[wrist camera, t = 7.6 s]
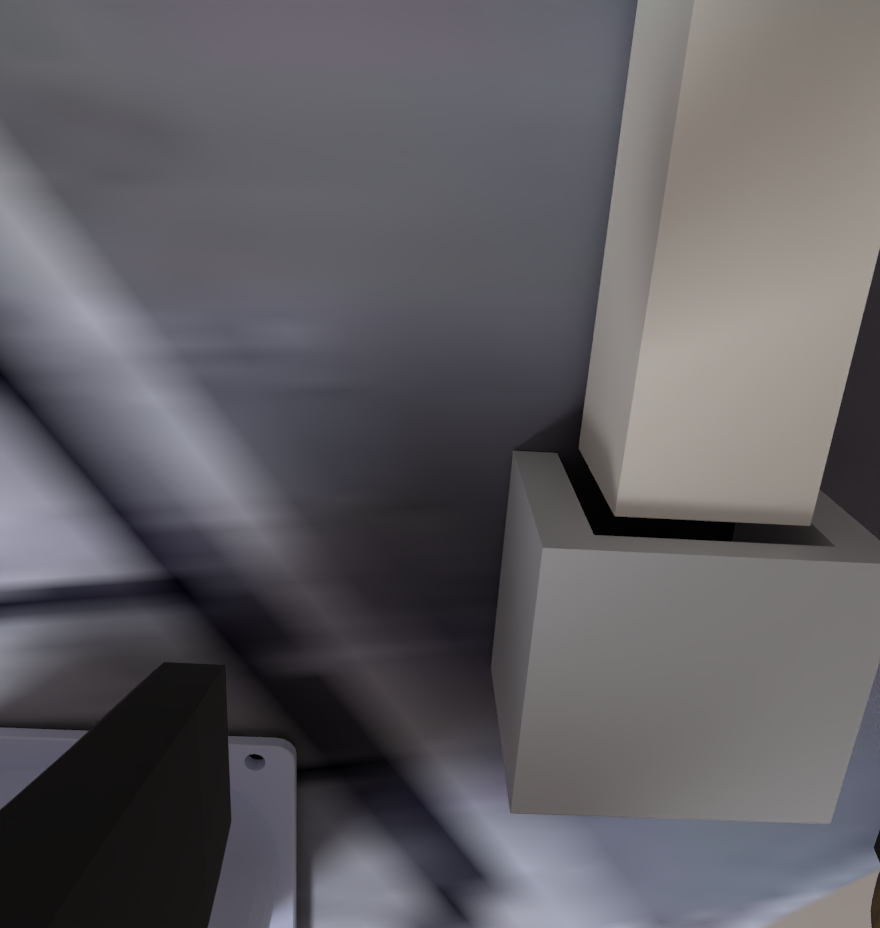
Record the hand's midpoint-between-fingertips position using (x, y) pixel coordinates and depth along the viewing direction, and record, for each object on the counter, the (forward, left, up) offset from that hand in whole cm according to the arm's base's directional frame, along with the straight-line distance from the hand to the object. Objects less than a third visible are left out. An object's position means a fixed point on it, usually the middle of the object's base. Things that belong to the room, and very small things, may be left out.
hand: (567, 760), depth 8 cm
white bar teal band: (+4, +6, -10) cm, 12 cm away
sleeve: (+4, -3, -10) cm, 11 cm away
